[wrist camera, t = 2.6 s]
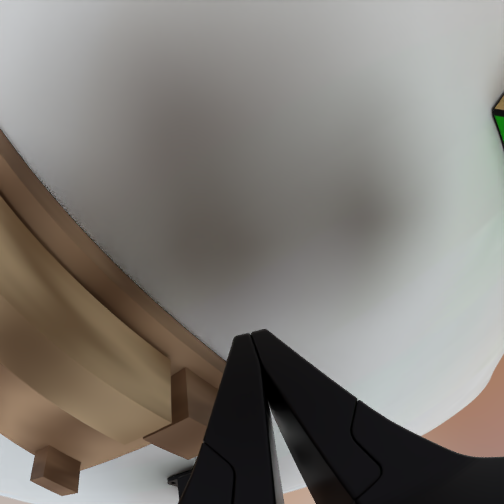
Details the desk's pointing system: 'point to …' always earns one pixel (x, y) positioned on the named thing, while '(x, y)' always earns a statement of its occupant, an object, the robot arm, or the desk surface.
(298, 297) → the desk surface
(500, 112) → the puzzle cube
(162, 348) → the seat
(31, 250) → the hinged leg
